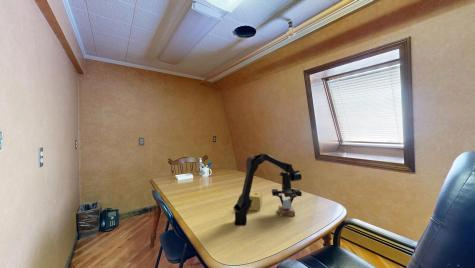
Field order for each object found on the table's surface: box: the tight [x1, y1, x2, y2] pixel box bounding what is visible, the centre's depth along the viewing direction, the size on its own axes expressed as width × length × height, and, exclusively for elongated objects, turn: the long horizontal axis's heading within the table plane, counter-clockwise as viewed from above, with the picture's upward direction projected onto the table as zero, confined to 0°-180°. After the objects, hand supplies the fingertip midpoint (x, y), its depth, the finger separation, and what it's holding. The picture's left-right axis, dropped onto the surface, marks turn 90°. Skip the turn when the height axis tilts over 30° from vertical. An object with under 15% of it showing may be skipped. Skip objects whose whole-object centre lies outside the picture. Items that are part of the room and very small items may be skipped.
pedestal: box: [278, 205, 296, 217], centre depth 128 cm, size 9×9×3 cm
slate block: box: [281, 197, 292, 209], centre depth 127 cm, size 5×5×5 cm
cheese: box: [248, 191, 264, 212], centre depth 137 cm, size 10×11×10 cm
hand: (286, 205), depth 127 cm, fingers closed on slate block, 5 cm apart
